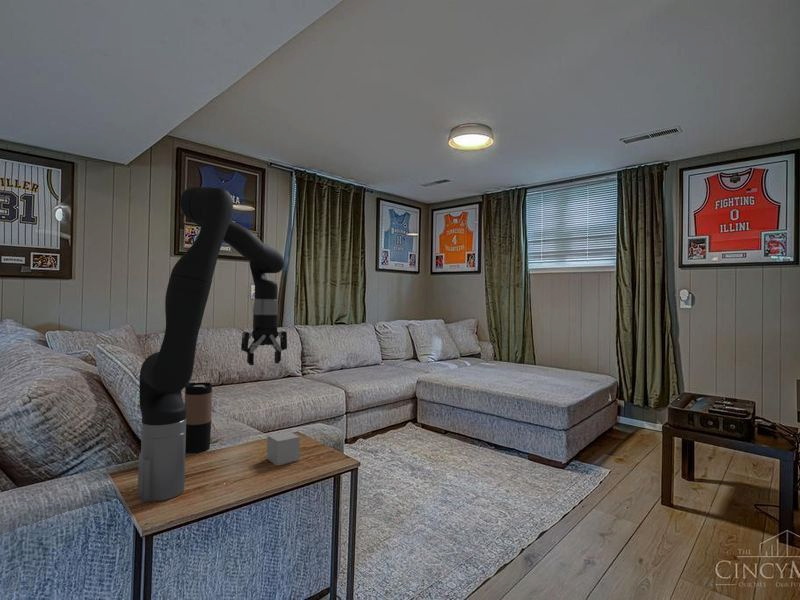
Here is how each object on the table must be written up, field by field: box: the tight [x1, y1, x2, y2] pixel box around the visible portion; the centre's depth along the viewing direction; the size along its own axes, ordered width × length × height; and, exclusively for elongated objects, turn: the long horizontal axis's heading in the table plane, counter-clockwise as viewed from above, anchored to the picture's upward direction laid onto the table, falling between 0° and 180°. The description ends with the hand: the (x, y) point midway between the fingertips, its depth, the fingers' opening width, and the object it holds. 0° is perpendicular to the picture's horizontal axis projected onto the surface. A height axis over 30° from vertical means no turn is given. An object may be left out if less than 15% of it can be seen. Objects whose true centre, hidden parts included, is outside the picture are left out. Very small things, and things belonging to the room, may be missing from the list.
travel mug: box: [184, 382, 213, 454], centre depth 130 cm, size 8×8×20 cm
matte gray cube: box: [266, 431, 301, 466], centre depth 123 cm, size 7×7×7 cm
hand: (264, 364), depth 135 cm, fingers open, 8 cm apart
